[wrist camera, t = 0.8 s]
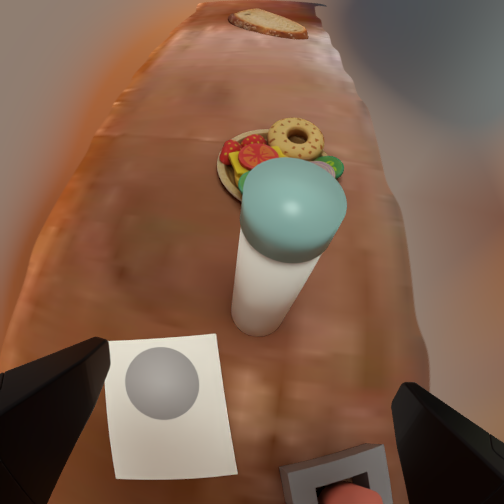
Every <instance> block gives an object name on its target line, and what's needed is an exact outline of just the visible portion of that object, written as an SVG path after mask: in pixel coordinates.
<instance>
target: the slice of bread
mask: <svg viewBox="0 0 504 504" xmlns="http://www.w3.org/2000/svg"><path fill="white" fill-rule="evenodd" d="M228 20H229V21H230V22H231V23H232V24H233V25H235V26H238V27H240V28H243V29H246V30H249V31H254V32H258V33H261V34H266V35H271V36H276V37H282V38H289V39H308V35H307V30H306V28H305V27H303V26H301V25H299V24H298V23H296V22H293V21H292V20H289V19H287V18H284V17H282V16H278V15H276V14H273V13H269V12H266V11H264V10H260V9H259V8H256V9H249V10H245V11H241V12H238V13H236V14H235V13H233V14H230V16H229V17H228Z"/></svg>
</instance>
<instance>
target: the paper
mask: <svg viewBox="0 0 504 504" xmlns="http://www.w3.org/2000/svg"><path fill="white" fill-rule="evenodd" d="M108 342H109V349H110V360H111V365H110V369H109V372H108V374H107V377H106V379H105V393H106V406H107V417H108V427H109V436H110V443H111V451H112V458H113V464H114V470H115V476H116V479H137V480H170V479H193V478H206V477H217V476H226V475H235V474H238V472H237V467H236V461H235V456H234V450H233V444H232V438H231V432H230V426H229V420H228V414H227V408H226V401H225V395H224V388H223V381H222V374H221V367H220V360H219V353H218V346H217V338H216V334H207V335H197V336H185V337H173V338H159V339H144V340H125V341H108Z"/></svg>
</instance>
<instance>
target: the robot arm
mask: <svg viewBox="0 0 504 504" xmlns="http://www.w3.org/2000/svg"><path fill="white" fill-rule="evenodd" d="M110 365H111V360H110V349H109V342H108V341H107V340H106V339H103V338H99V337H93V338H90V339H88V340H85V341H83V342H80V343H78V344H75V345H73V346H70V347H68V348H65V349H63V350H60V351H58V352H55V353H53V354H50V355H47V356H45V357H42V358H40V359H37V360H35V361H32V362H29V363H27V364H24V365H22V366H19V367H16V368H14V369H11V370H8V371H6V372H5V373H0V504H47V503H48V500H49V498H50V496H51V494H52V492H53V489H54V487H55V485H56V483H57V481H58V479H59V477H60V474H61V472H62V470H63V468H64V466H65V464H66V462H67V460H68V458H69V456H70V454H71V452H72V450H73V448H74V446H75V444H76V442H77V440H78V438H79V436H80V434H81V432H82V430H83V428H84V426H85V424H86V423H87V421H88V419H89V417H90V415H91V413H92V411H93V409H94V407H95V404H96V402H97V399H98V397H99V394H100V392H101V389H102V387H103V384H104V382H105V379H106V377H107V374H108V372H109V369H110ZM391 409H392V415H393V422H394V429H395V437H396V444H397V449H398V454H399V458H400V462H401V467H402V471H403V476H404V480H405V485H406V490H407V495H408V500H409V504H504V443H503V442H501V441H500V440H498V439H497V438H495V437H494V436H492V435H491V434H490V435H489V433H488V432H486V431H485V430H483V429H482V428H481V427H479V426H478V425H476V424H475V423H473V422H472V421H470V420H469V419H467V418H466V417H464V416H463V415H461V414H460V413H458V412H457V411H456V410H454V409H453V408H451V407H450V406H448V405H447V404H445V403H444V402H443V401H441V400H440V399H438V398H437V397H435V396H434V395H432V394H431V393H429V392H428V391H427V390H425V389H424V388H422V387H421V386H419V385H418V384H417V383H415V382H404V383H402V384H401V386H400V388H399V390H398V392H397V393H396V395H395V397H394V399H393V401H392V405H391Z"/></svg>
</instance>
